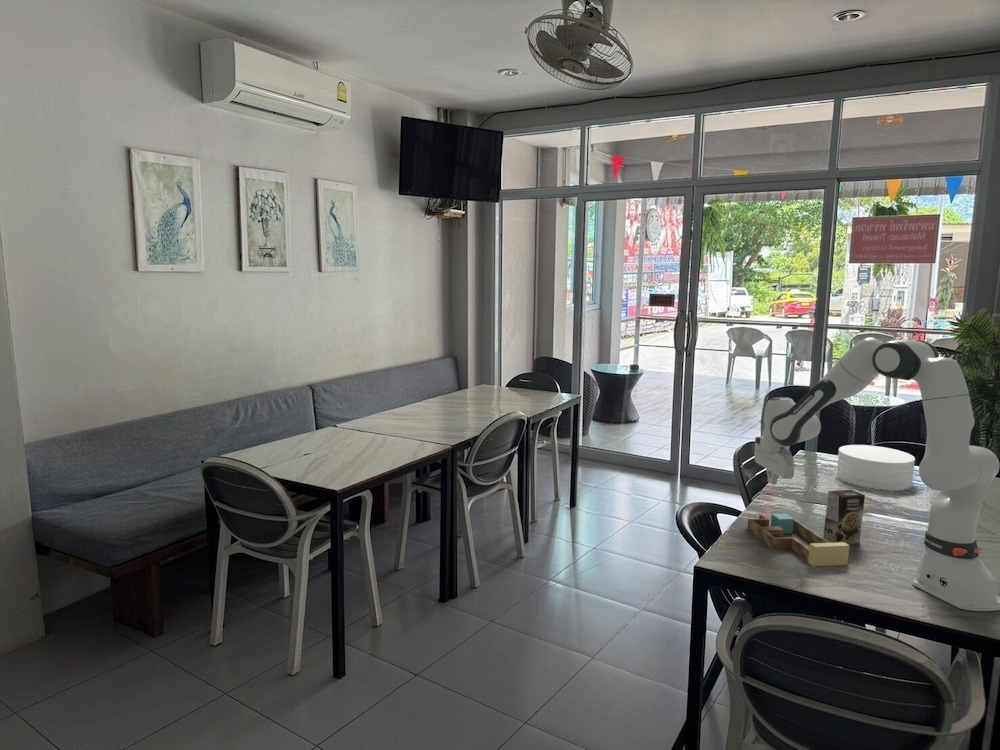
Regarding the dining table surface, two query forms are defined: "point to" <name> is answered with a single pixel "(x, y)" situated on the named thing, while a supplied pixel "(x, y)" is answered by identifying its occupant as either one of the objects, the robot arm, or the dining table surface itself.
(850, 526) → the coffee box
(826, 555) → the bumper
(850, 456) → the plate stack
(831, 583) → the dining table surface
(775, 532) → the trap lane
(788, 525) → the block
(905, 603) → the dining table surface
